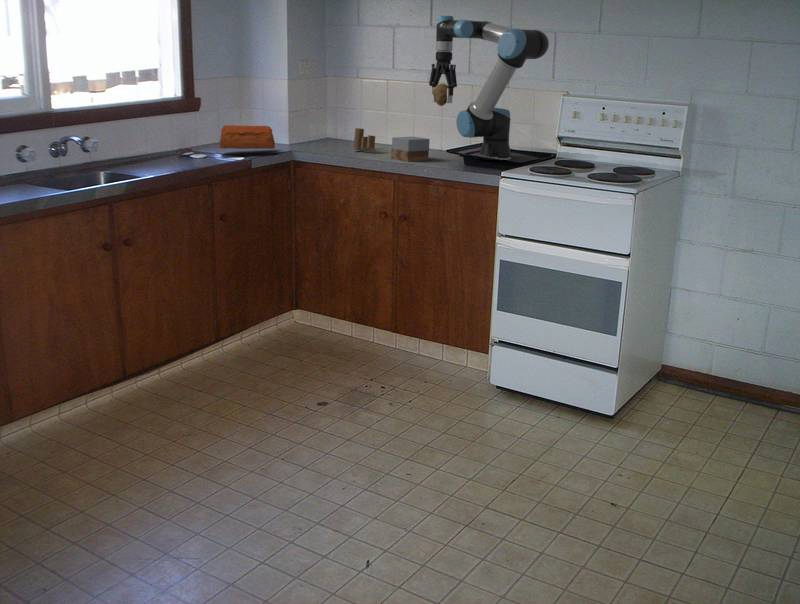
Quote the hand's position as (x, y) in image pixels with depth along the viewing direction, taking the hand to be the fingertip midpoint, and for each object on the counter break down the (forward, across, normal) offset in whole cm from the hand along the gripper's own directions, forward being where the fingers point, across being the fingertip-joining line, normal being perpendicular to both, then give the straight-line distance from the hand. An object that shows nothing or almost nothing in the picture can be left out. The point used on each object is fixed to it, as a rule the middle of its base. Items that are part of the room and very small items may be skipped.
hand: (442, 102), depth 404 cm
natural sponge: (+2, 0, 0) cm, 2 cm away
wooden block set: (+25, +39, +15) cm, 49 cm away
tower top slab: (+20, 0, +19) cm, 28 cm away
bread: (+25, +77, +58) cm, 100 cm away
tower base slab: (+26, 0, +19) cm, 32 cm away
